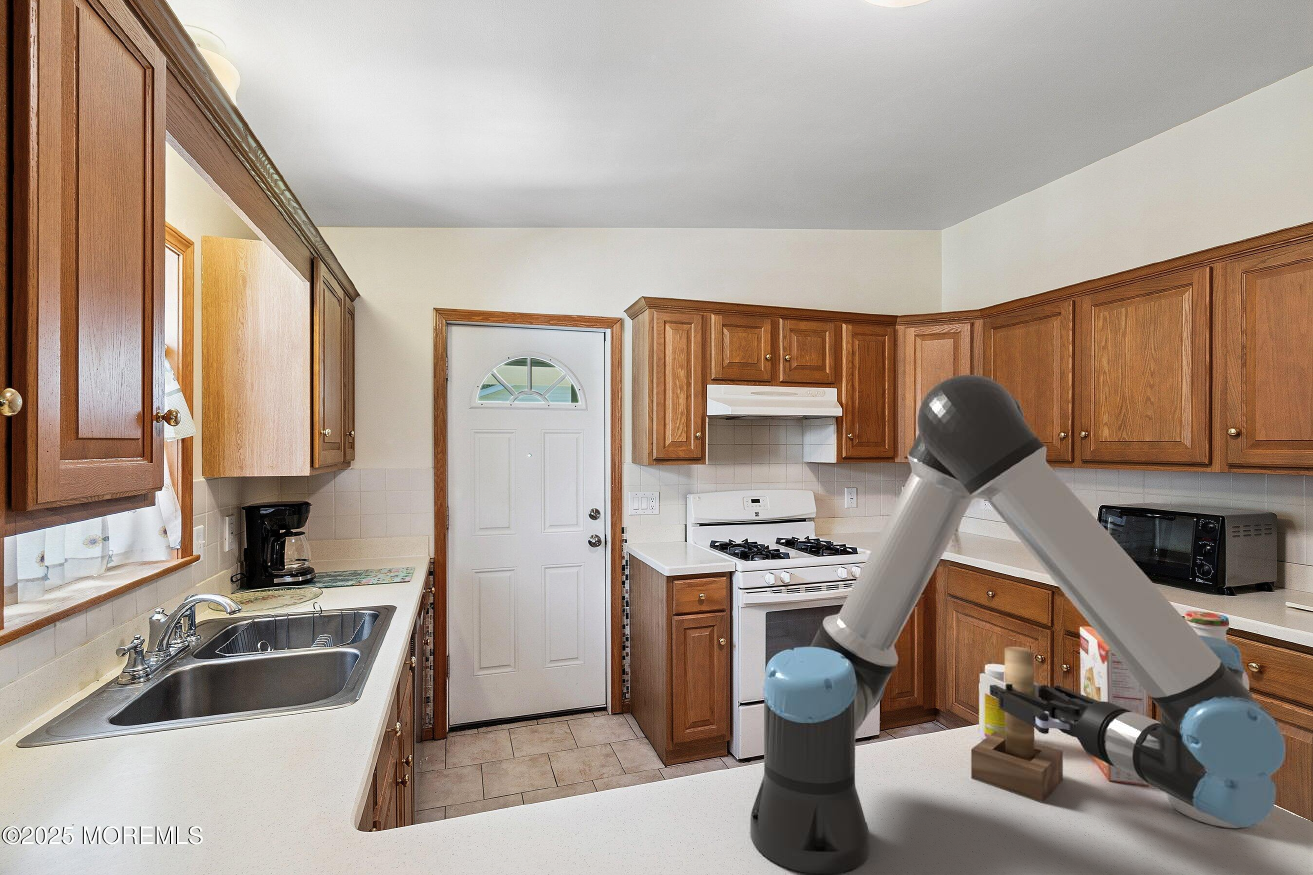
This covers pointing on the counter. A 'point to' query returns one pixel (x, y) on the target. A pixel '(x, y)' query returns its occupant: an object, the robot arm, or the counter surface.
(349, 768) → the counter surface
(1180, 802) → the fruit juice
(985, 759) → the socket block
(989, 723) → the supplement bottle
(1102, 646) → the cracker box
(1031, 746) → the dowel
